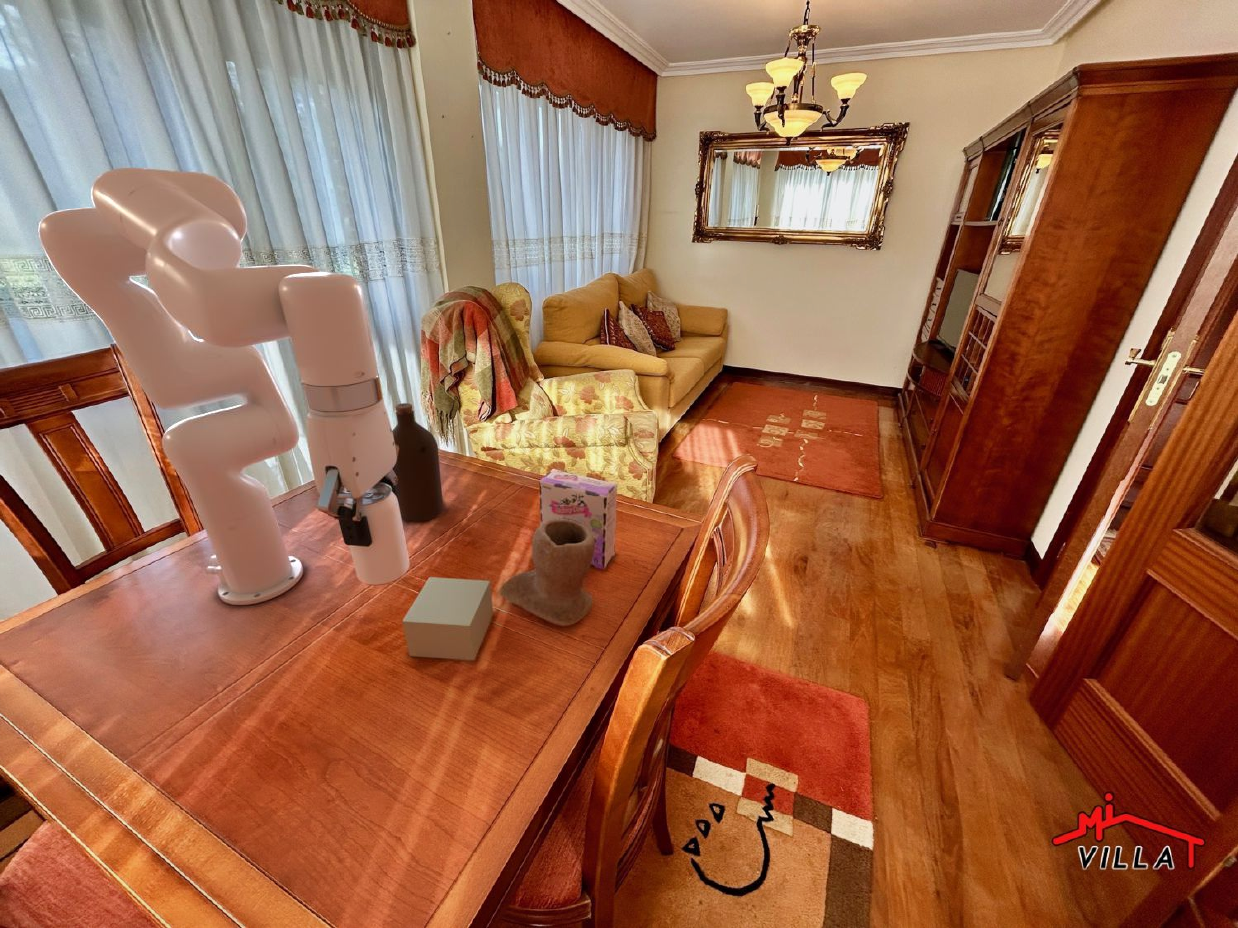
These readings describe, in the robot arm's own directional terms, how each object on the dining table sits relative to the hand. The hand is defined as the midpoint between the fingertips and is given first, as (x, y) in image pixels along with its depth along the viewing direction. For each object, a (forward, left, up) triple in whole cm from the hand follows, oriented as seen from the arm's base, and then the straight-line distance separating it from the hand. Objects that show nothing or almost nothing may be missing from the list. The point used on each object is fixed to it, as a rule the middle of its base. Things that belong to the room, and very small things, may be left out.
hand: (374, 526), depth 63 cm
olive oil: (-15, +42, -25) cm, 51 cm away
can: (0, 0, -7) cm, 7 cm away
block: (+5, +7, -25) cm, 26 cm away
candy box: (+22, +30, -25) cm, 44 cm away
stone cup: (+19, +16, -25) cm, 35 cm away
